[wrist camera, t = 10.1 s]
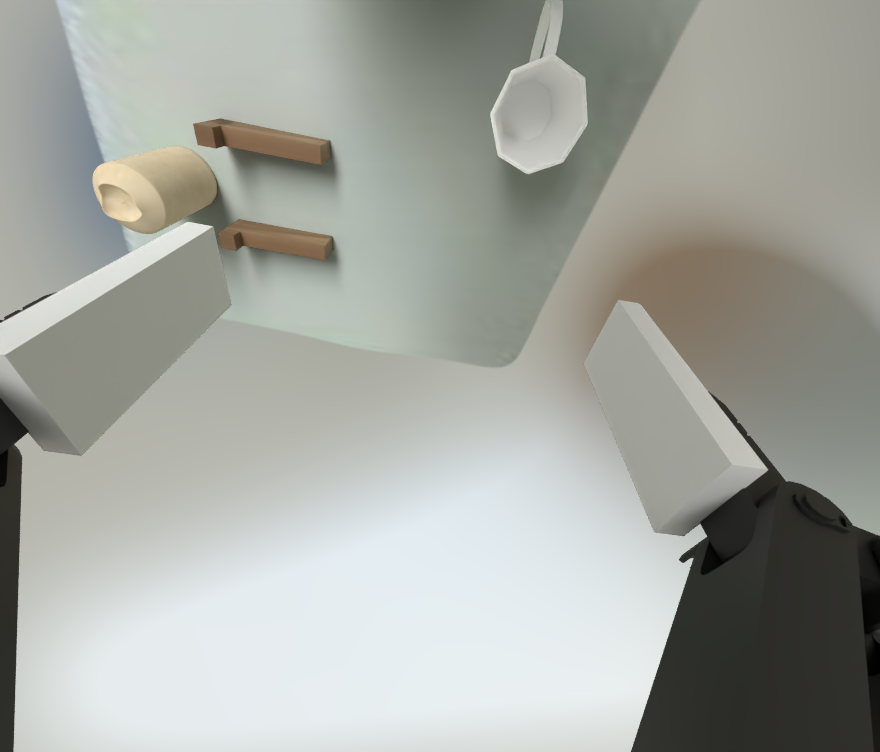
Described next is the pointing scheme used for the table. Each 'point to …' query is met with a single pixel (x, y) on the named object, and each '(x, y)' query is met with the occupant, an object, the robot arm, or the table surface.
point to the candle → (154, 188)
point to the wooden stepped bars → (276, 145)
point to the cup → (540, 103)
